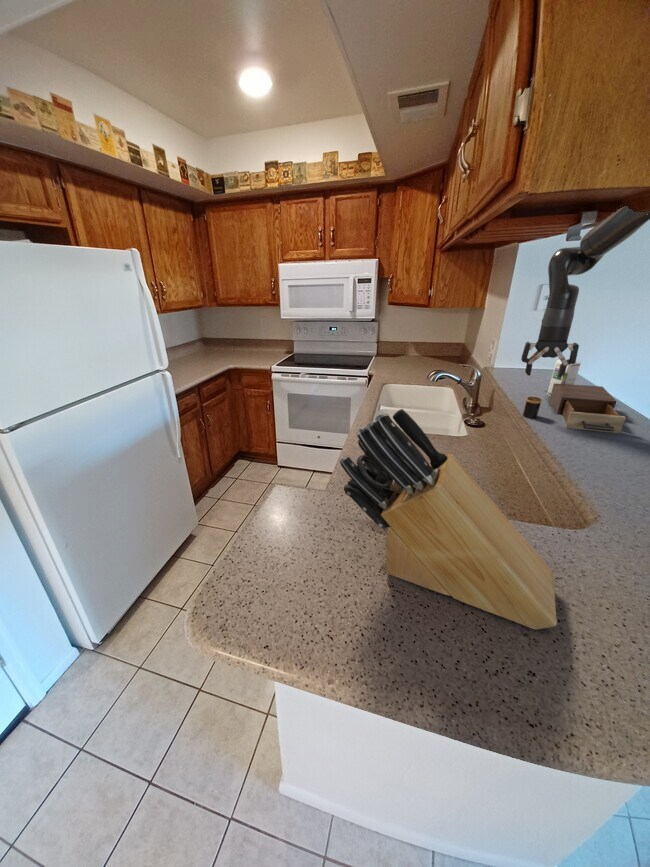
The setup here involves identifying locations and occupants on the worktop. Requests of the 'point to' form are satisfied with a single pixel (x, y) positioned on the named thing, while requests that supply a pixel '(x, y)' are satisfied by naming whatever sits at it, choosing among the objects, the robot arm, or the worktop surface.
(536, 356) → the robot arm
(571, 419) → the drawer
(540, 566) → the knife block
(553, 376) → the syrup box
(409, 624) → the worktop surface
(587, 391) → the cabinet
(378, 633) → the worktop surface
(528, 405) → the spice tin
